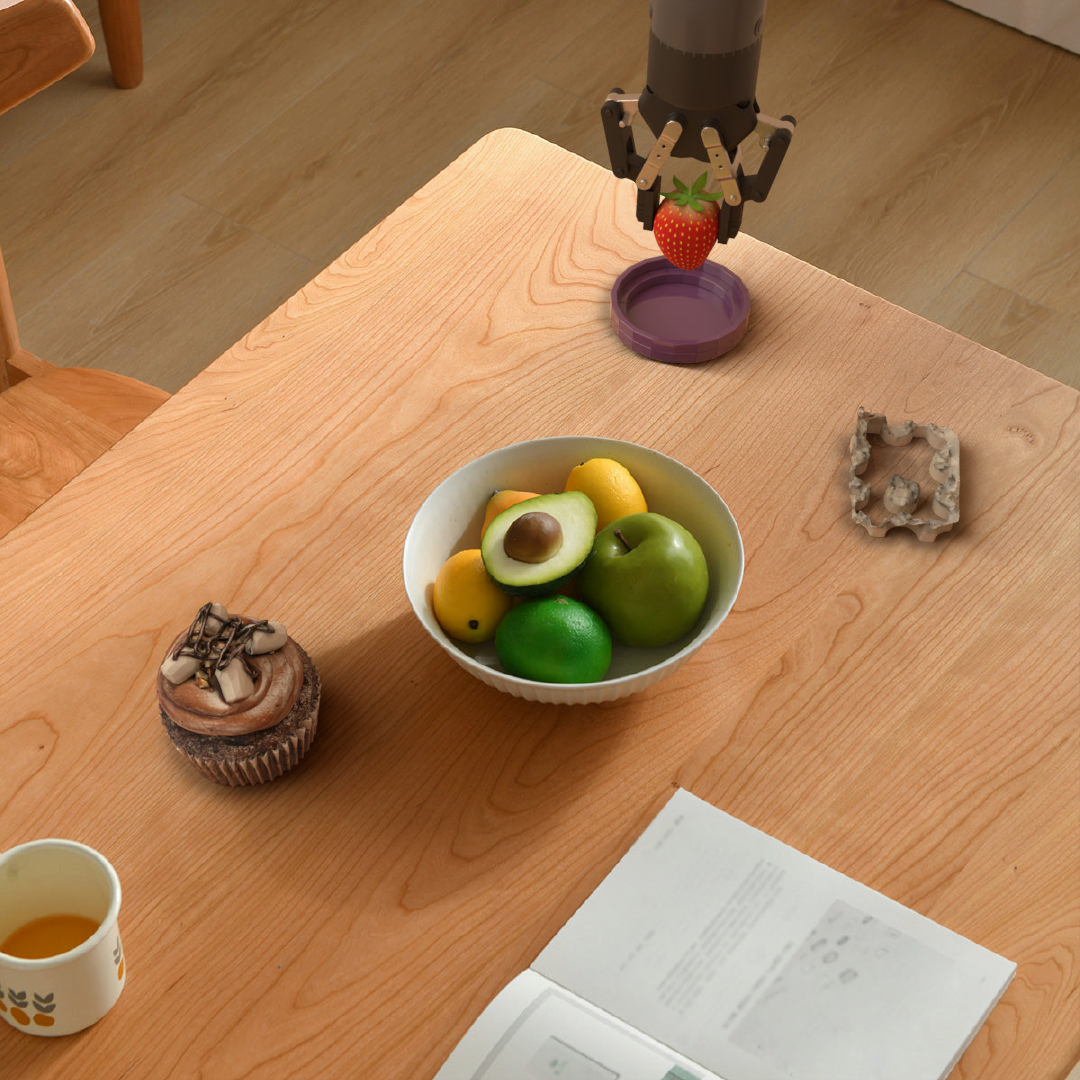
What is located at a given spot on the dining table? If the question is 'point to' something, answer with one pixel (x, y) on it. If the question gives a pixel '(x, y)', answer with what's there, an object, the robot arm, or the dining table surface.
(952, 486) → the egg carton
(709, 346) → the dish
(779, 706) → the dining table surface
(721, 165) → the robot arm
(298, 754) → the cupcake
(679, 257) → the fruit
